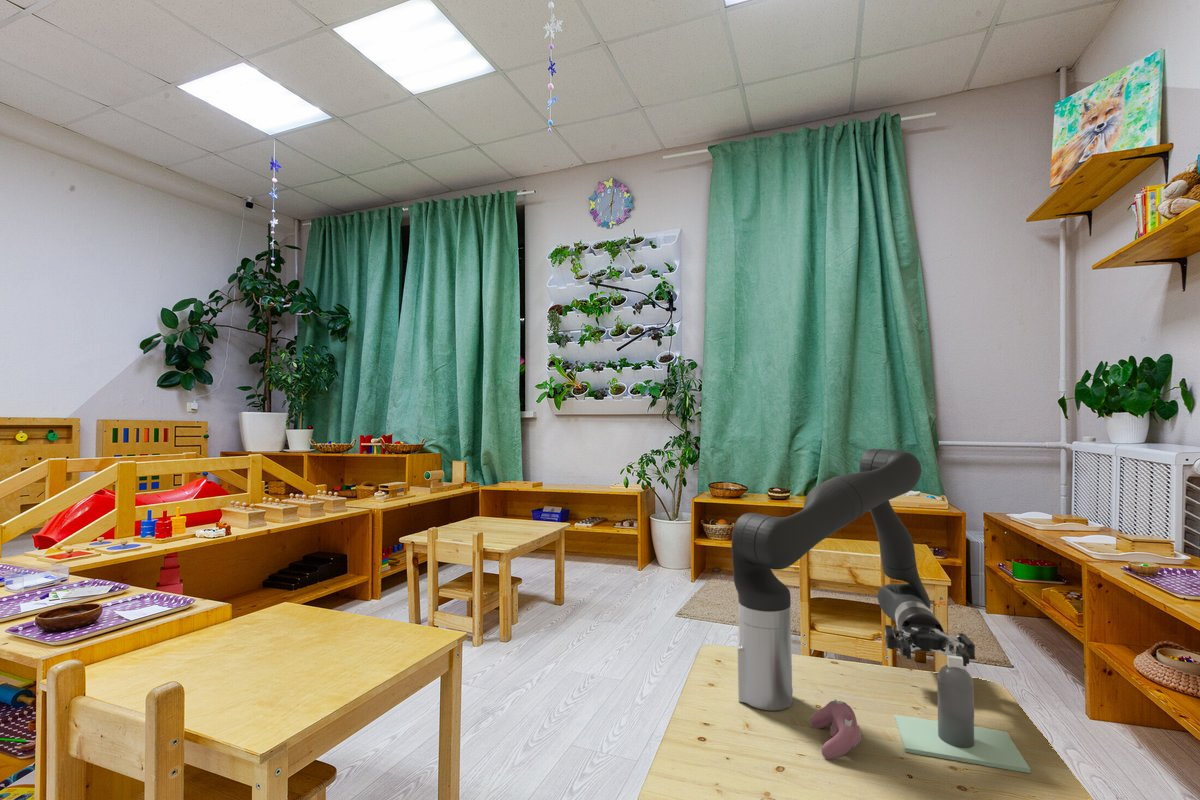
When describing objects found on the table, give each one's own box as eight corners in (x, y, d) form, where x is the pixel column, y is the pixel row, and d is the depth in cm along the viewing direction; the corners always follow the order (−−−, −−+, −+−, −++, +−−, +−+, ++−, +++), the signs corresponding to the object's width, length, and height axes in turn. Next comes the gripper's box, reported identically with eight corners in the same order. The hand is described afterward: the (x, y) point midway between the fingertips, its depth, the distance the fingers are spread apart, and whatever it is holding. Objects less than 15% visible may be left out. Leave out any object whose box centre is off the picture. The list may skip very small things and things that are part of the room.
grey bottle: (942, 744, 86) (941, 661, 86) (934, 727, 91) (933, 648, 91) (978, 750, 84) (977, 666, 85) (969, 733, 89) (968, 652, 89)
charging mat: (905, 751, 85) (905, 747, 85) (894, 718, 95) (894, 714, 95) (1030, 773, 80) (1030, 769, 80) (1006, 735, 89) (1006, 731, 89)
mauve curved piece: (849, 773, 83) (870, 732, 82) (820, 757, 84) (841, 716, 83) (832, 735, 93) (852, 699, 92) (806, 721, 93) (826, 684, 93)
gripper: (878, 602, 116) (890, 630, 101) (957, 610, 111) (983, 641, 96) (879, 638, 116) (891, 672, 100) (958, 648, 111) (984, 685, 96)
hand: (936, 657), depth 98 cm, fingers open, 8 cm apart
